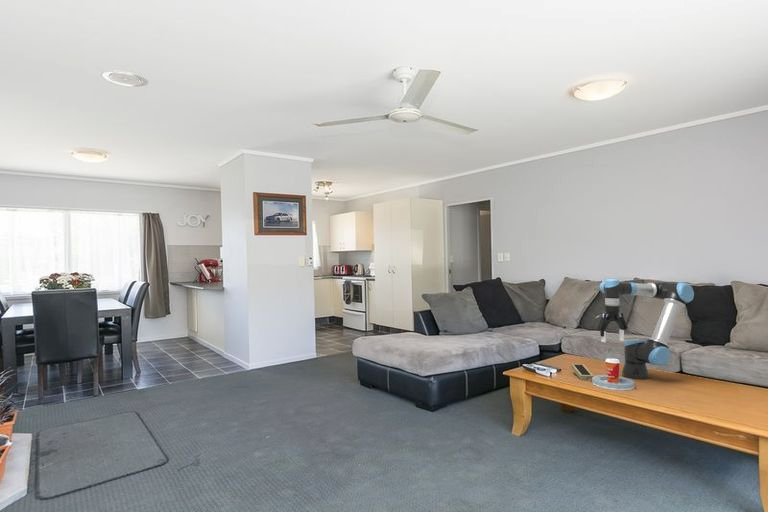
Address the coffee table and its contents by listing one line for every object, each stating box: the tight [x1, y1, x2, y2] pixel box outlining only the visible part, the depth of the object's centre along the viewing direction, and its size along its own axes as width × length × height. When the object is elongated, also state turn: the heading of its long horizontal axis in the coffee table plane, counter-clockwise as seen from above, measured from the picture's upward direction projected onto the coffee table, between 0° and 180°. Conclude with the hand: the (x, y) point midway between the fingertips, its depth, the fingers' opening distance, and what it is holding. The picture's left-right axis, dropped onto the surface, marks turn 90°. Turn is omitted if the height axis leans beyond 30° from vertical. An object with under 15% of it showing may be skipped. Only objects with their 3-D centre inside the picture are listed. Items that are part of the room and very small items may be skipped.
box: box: [570, 363, 595, 383], centre depth 275 cm, size 8×22×5 cm, turn 175°
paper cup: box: [605, 357, 621, 383], centre depth 257 cm, size 8×8×14 cm
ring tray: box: [591, 374, 636, 391], centre depth 257 cm, size 22×22×3 cm
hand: (612, 341), depth 257 cm, fingers open, 13 cm apart
